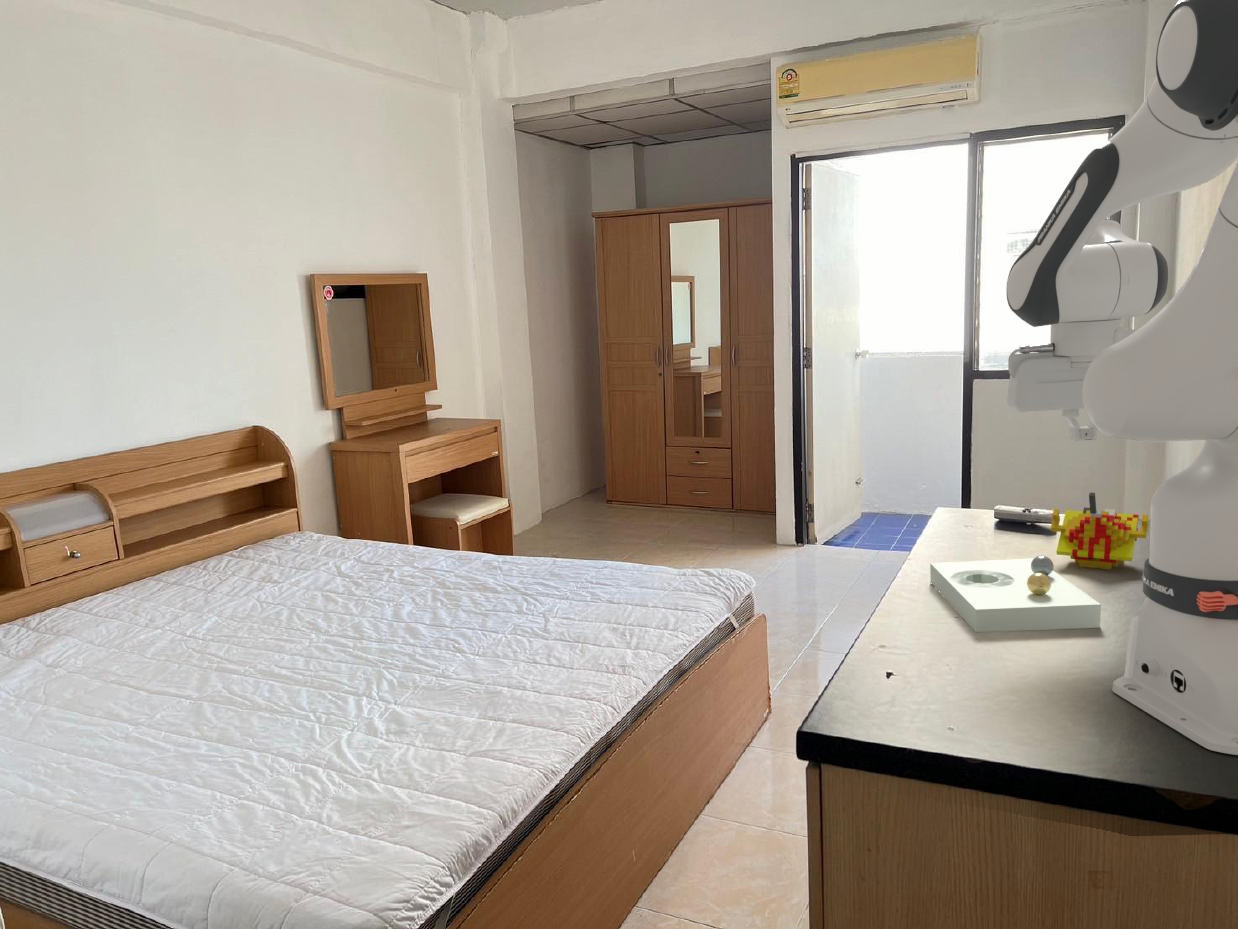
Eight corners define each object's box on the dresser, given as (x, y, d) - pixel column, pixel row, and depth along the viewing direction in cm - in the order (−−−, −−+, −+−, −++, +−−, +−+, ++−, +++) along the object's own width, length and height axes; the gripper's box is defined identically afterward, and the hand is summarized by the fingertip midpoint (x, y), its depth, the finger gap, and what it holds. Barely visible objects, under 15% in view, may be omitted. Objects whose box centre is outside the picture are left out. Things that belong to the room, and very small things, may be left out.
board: (1100, 627, 119) (1100, 604, 119) (975, 632, 121) (976, 609, 120) (1035, 578, 141) (1035, 558, 140) (930, 582, 142) (930, 563, 142)
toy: (1150, 546, 147) (1148, 476, 139) (1144, 589, 141) (1141, 519, 133) (1059, 538, 155) (1052, 472, 147) (1049, 579, 149) (1041, 512, 141)
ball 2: (1054, 597, 123) (1054, 576, 122) (1031, 598, 123) (1031, 577, 122) (1045, 590, 126) (1045, 569, 125) (1023, 591, 126) (1023, 570, 125)
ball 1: (1056, 578, 130) (1057, 558, 130) (1035, 579, 130) (1035, 559, 130) (1048, 572, 133) (1048, 552, 133) (1027, 573, 133) (1027, 553, 133)
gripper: (1016, 347, 123) (1016, 447, 126) (1173, 337, 122) (1169, 439, 124) (1000, 345, 130) (1000, 440, 132) (1149, 335, 128) (1145, 432, 130)
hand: (1083, 439), depth 128 cm, fingers closed
